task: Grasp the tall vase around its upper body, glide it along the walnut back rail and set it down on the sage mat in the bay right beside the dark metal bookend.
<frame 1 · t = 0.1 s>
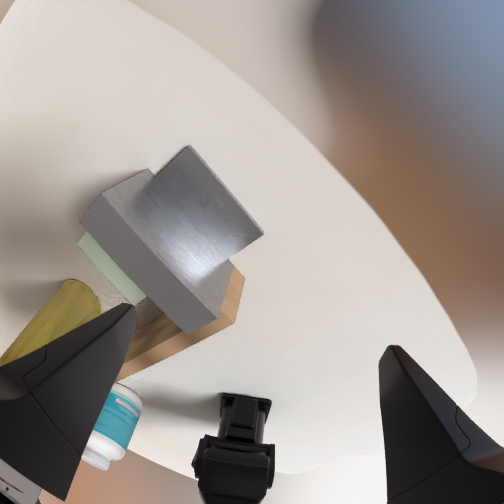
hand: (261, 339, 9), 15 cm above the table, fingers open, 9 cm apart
back rail: (165, 319, 29), on the table
bookend: (179, 228, 24), on the table
pill bottle: (123, 393, 39), on the table
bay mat: (128, 252, 26), on the table
vase: (82, 299, 30), on the table
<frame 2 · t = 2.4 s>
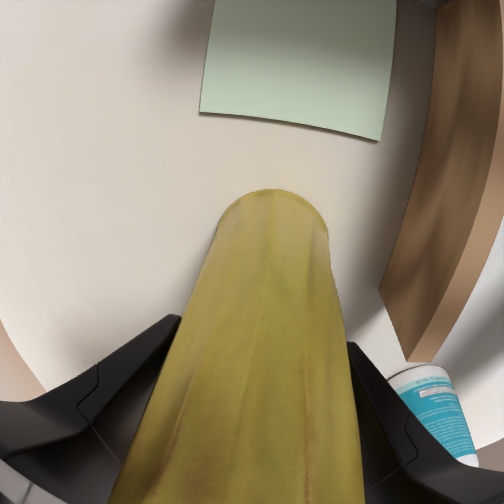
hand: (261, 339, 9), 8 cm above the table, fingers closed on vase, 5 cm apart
back rail: (437, 127, 12), on the table
pill bottle: (409, 386, 21), on the table
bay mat: (303, 37, 11), on the table
vase: (272, 240, 16), on the table, touching gripper
when the fingers open (8 cm above the table, at t = 6.5 s): vase stays where it is, resting on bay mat.
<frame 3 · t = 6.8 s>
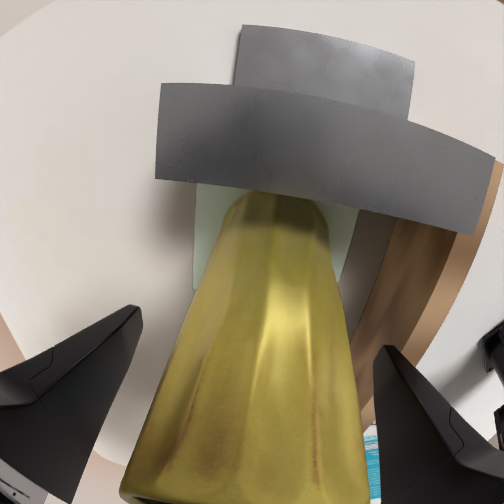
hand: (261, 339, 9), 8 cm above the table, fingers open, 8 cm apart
back rail: (381, 293, 18), on the table
bookend: (317, 136, 14), on the table
pill bottle: (362, 435, 27), on the table
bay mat: (272, 236, 17), on the table
vase: (274, 237, 17), resting on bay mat
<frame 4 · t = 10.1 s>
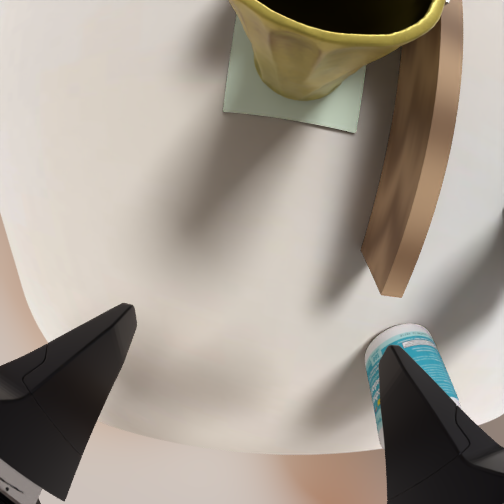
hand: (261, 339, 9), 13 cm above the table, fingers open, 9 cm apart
back rail: (401, 122, 17), on the table
pill bottle: (396, 345, 26), on the table
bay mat: (298, 58, 16), on the table
vase: (300, 58, 16), resting on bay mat
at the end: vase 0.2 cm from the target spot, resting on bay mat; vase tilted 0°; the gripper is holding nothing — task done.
